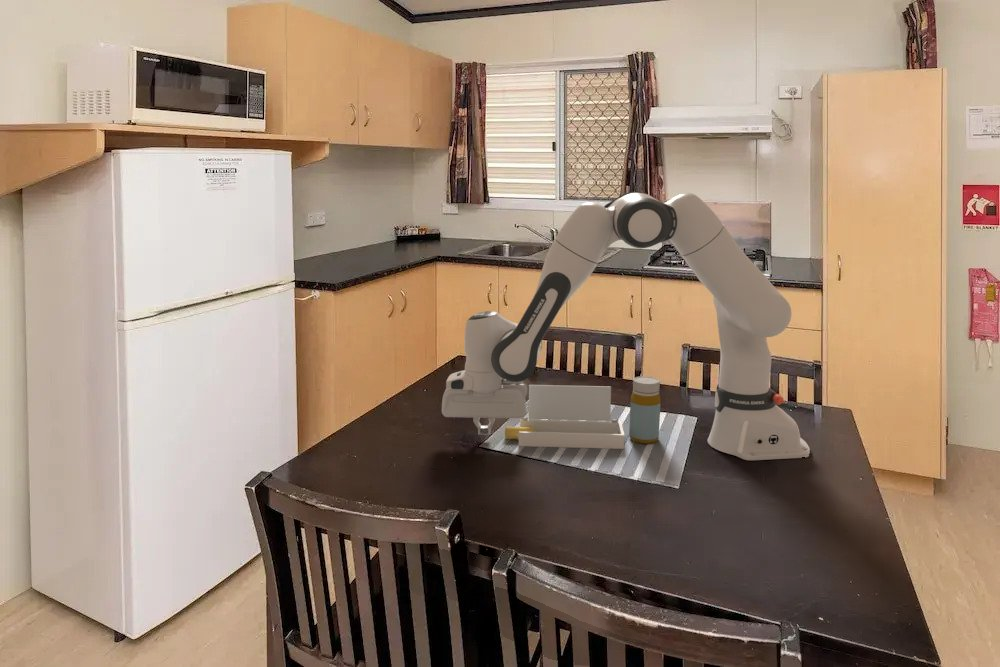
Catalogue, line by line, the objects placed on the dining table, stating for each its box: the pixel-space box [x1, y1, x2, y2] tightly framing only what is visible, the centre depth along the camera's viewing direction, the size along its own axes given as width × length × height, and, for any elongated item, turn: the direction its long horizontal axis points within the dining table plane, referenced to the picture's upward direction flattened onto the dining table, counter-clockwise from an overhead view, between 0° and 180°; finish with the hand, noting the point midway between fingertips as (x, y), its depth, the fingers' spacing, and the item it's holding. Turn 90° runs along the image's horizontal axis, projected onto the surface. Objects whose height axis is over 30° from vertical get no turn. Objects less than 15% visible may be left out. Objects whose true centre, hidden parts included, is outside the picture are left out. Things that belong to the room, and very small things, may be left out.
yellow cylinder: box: [504, 426, 534, 440], centre depth 170 cm, size 7×3×3 cm
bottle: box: [628, 375, 661, 445], centre depth 168 cm, size 7×7×15 cm
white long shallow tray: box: [518, 416, 625, 450], centre depth 169 cm, size 25×9×4 cm, turn 85°
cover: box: [528, 384, 612, 422], centre depth 173 cm, size 20×8×1 cm
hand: (484, 433), depth 170 cm, fingers closed
